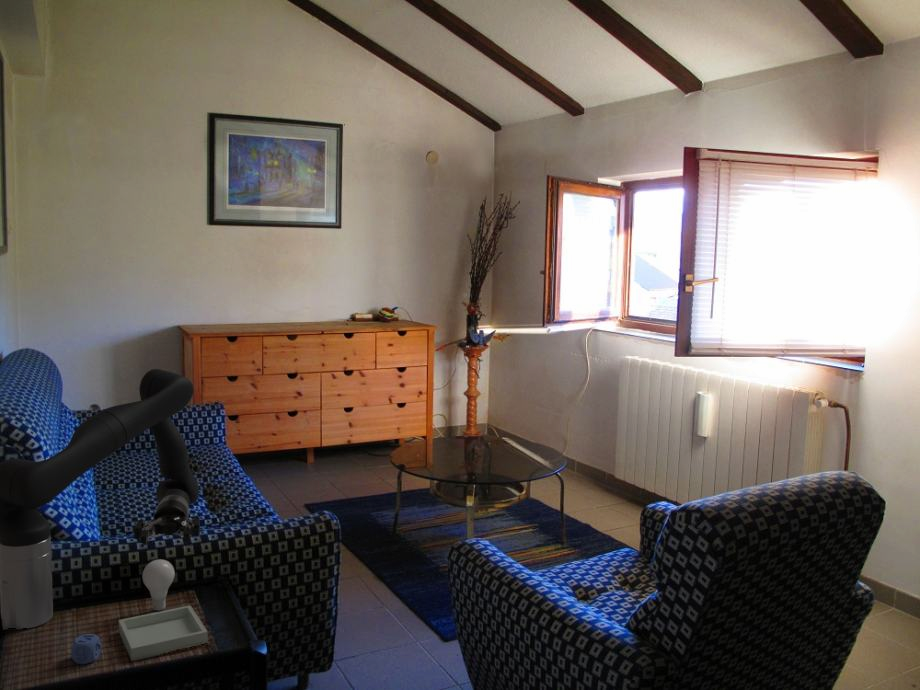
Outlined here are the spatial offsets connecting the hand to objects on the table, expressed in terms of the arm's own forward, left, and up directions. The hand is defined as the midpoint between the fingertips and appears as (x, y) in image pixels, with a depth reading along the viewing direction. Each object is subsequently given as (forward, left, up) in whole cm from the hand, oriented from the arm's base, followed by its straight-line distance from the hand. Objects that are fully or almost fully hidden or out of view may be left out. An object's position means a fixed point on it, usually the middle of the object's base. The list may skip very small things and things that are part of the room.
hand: (164, 539), depth 184 cm
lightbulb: (-4, -11, -11) cm, 16 cm away
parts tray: (-6, -23, -11) cm, 27 cm away
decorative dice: (-20, -25, -12) cm, 34 cm away
